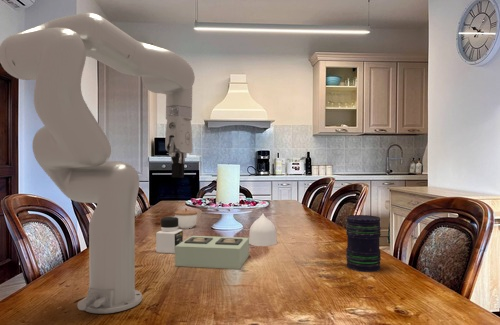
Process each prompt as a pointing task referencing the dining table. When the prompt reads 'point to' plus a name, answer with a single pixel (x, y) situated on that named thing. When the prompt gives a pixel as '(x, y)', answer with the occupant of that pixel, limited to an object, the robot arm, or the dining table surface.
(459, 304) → the dining table surface
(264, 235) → the teardrop
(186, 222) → the lidded jar
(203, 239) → the peg left
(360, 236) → the storage jar
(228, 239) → the peg right
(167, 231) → the medicine bottle
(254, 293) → the dining table surface
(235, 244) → the sage block
